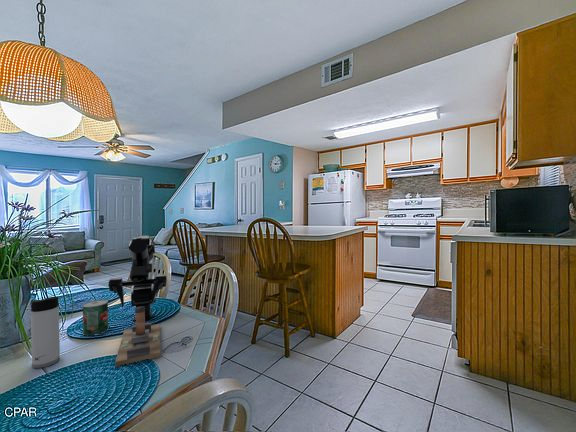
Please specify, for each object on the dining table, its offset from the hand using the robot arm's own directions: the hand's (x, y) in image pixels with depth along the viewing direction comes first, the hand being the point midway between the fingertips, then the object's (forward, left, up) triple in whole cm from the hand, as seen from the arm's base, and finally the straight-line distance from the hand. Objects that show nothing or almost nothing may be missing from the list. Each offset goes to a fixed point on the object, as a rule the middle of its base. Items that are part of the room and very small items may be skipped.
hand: (137, 305), depth 95 cm
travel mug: (+14, -20, -12) cm, 27 cm away
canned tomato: (-7, -19, -12) cm, 24 cm away
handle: (+5, +3, -10) cm, 12 cm away
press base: (+4, +3, -12) cm, 13 cm away
